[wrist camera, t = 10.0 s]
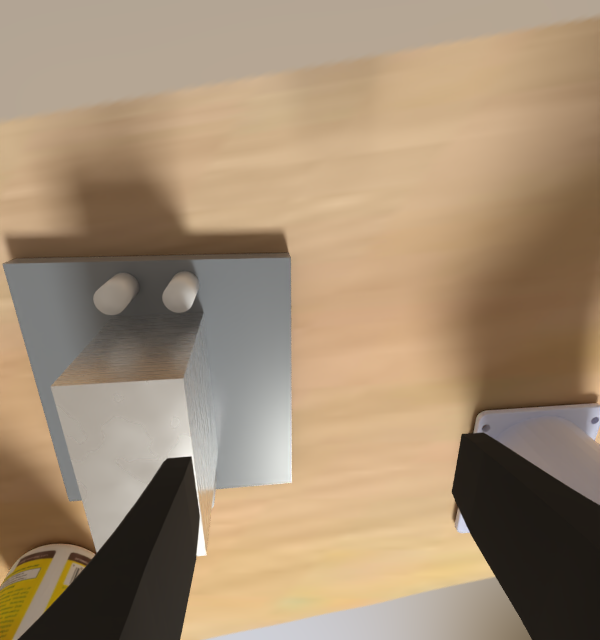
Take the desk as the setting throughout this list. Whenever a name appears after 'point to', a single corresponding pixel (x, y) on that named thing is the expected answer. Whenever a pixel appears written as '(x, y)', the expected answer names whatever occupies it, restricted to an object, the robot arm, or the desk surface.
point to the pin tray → (171, 298)
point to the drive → (138, 414)
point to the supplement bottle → (37, 585)
